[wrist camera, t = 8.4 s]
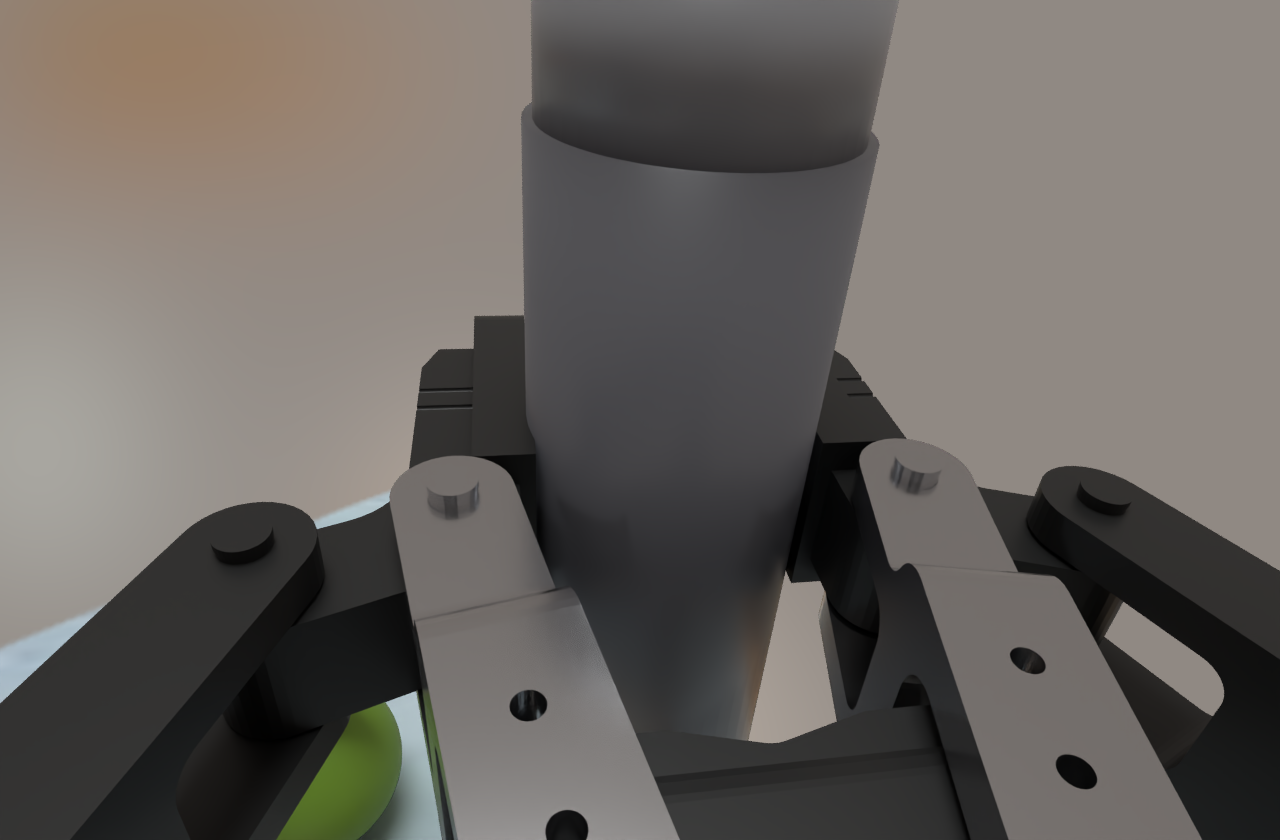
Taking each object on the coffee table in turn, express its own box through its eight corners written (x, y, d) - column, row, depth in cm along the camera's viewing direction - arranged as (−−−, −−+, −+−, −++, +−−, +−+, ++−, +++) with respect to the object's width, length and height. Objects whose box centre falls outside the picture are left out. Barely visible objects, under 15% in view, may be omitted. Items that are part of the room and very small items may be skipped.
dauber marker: (537, 928, 13) (526, -39, 5) (528, 735, 15) (512, -70, 8) (750, 899, 13) (995, -11, 6) (704, 718, 16) (832, -49, 9)
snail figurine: (408, 911, 25) (359, 639, 18) (200, 886, 25) (76, 608, 18) (456, 752, 29) (431, 487, 23) (280, 732, 29) (203, 464, 23)
